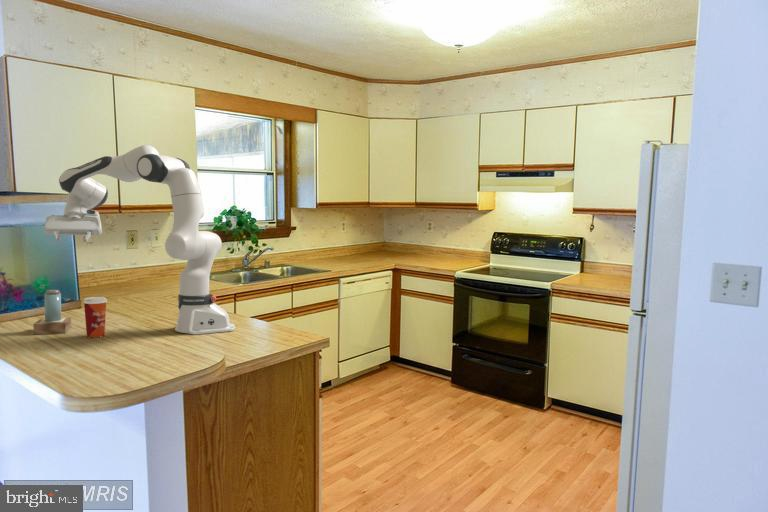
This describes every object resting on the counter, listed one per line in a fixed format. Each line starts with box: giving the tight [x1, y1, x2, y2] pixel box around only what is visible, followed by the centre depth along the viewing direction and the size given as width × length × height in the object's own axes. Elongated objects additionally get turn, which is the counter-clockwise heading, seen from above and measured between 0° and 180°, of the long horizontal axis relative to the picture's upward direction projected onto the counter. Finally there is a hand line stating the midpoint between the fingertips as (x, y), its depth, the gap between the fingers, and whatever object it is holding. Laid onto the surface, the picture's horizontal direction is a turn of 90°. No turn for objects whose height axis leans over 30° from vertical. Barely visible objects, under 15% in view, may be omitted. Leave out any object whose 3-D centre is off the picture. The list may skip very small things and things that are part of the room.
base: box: [33, 317, 72, 336], centre depth 193 cm, size 10×10×4 cm
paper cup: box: [82, 296, 108, 338], centre depth 188 cm, size 8×8×14 cm
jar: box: [44, 289, 62, 322], centre depth 193 cm, size 5×5×11 cm
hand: (71, 240), depth 206 cm, fingers open, 8 cm apart
